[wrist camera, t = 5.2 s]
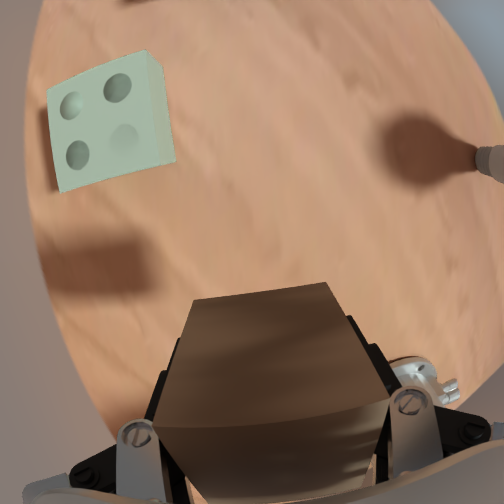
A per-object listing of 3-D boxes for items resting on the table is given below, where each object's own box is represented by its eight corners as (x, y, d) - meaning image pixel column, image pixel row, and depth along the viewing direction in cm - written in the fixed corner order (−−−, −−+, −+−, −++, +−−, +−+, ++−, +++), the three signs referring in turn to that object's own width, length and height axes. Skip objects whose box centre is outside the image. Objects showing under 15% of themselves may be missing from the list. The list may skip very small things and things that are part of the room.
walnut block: (325, 282, 10) (390, 398, 5) (327, 377, 12) (360, 487, 6) (193, 299, 11) (151, 426, 5) (220, 391, 12) (209, 504, 6)
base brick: (162, 66, 16) (145, 49, 12) (176, 161, 18) (160, 165, 14) (76, 96, 16) (46, 89, 12) (88, 184, 18) (59, 193, 14)
